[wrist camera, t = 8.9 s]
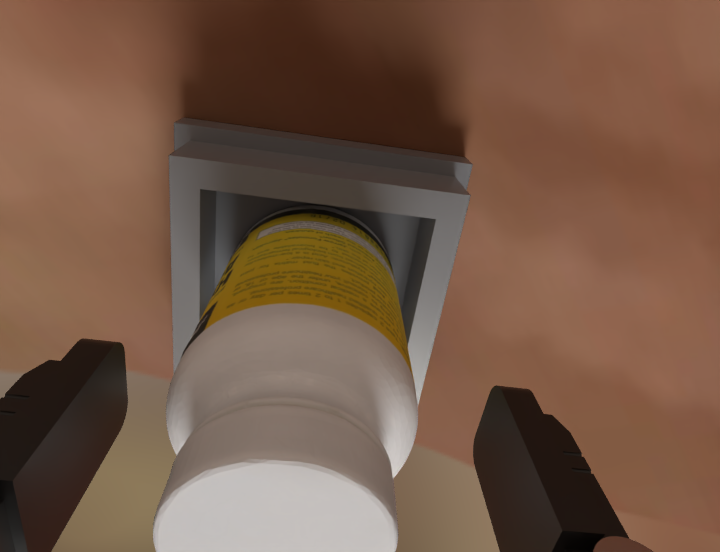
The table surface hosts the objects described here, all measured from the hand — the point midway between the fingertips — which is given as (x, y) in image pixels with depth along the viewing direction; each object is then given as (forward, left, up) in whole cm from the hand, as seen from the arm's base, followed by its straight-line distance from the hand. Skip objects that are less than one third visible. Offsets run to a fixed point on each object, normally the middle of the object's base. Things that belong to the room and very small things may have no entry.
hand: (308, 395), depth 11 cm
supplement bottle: (0, 0, -7) cm, 7 cm away
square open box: (0, 0, -7) cm, 7 cm away
